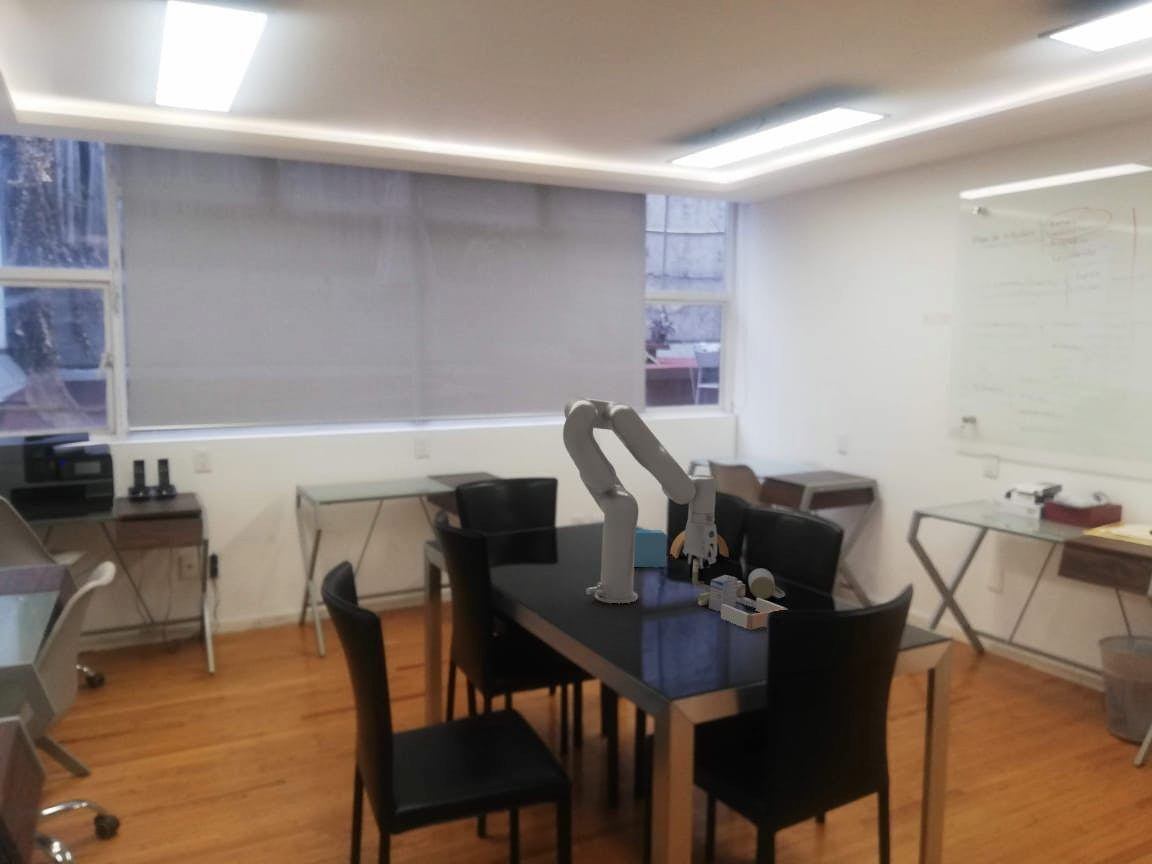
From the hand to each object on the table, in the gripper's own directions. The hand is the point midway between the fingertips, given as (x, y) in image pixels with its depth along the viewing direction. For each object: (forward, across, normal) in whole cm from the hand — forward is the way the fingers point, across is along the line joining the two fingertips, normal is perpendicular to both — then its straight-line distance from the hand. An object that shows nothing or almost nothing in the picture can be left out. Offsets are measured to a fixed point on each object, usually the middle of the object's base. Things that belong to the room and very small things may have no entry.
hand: (697, 578), depth 257 cm
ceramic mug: (+6, -8, -20) cm, 22 cm away
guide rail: (+6, -8, -9) cm, 13 cm away
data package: (+6, +35, -8) cm, 36 cm away
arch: (+6, +38, -35) cm, 52 cm away
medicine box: (+6, -11, 0) cm, 13 cm away
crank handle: (+5, -4, -3) cm, 7 cm away
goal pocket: (+6, -23, 0) cm, 24 cm away
